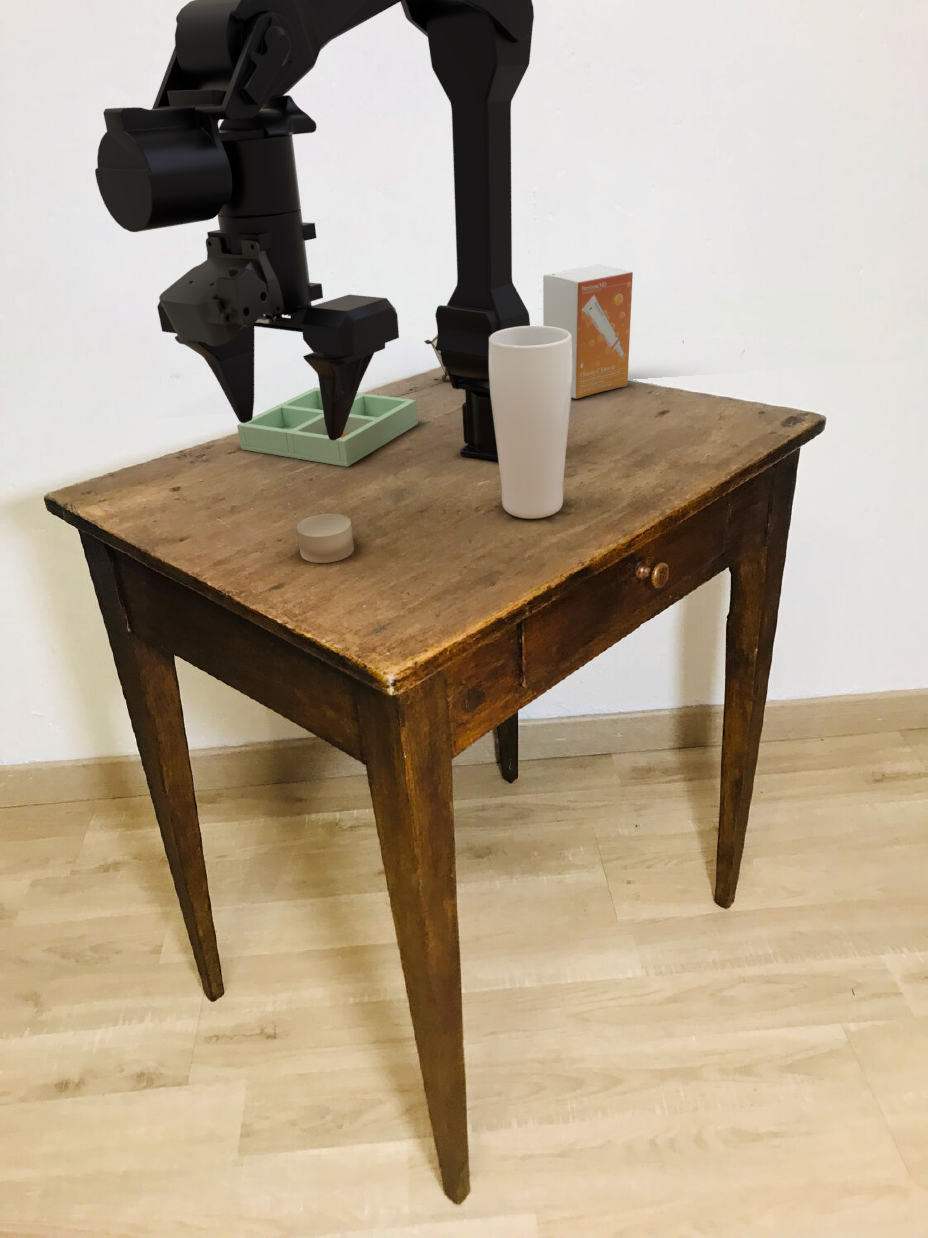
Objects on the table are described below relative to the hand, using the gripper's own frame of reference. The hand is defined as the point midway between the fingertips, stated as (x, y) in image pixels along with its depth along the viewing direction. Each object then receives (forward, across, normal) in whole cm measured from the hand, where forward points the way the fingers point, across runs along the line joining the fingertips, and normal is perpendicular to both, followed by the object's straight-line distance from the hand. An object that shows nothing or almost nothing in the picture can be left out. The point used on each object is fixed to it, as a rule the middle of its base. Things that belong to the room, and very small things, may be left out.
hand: (289, 429), depth 73 cm
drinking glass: (+10, +13, +15) cm, 22 cm away
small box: (+10, +1, +49) cm, 50 cm away
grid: (+10, -16, +22) cm, 29 cm away
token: (+10, +2, +1) cm, 10 cm away
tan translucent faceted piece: (+10, -14, +46) cm, 49 cm away
